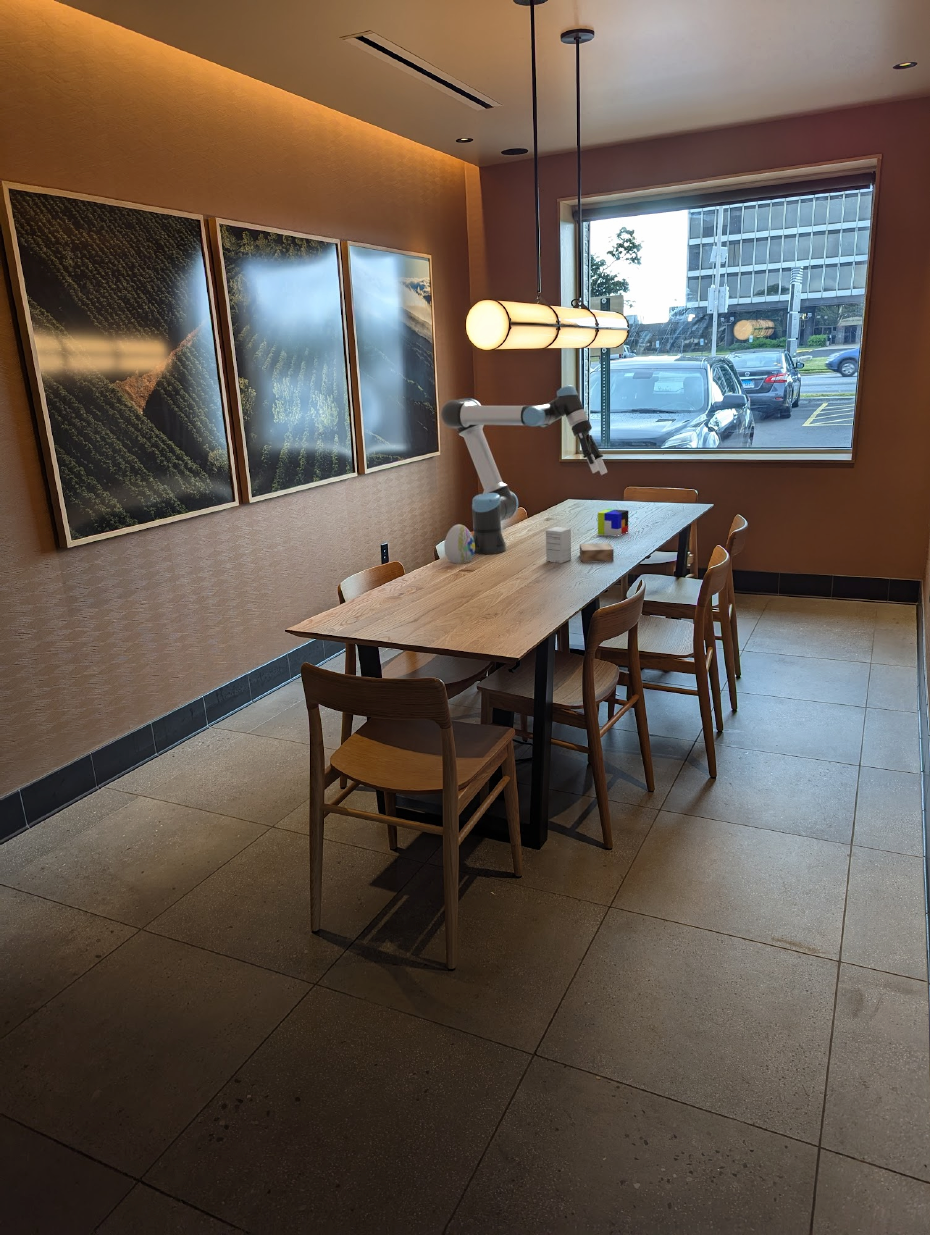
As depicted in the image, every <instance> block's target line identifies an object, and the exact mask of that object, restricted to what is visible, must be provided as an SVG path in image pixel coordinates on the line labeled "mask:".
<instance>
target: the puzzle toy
mask: <svg viewBox="0 0 930 1235" xmlns="http://www.w3.org/2000/svg"><path fill="white" fill-rule="evenodd" d="M626 532H628V533H629V510H625V509H611V508H607V509H605V510H602V511H598V512H597V535H598V534H603V535H602V536H607V535H616V536H615V537H619V536H618V535H620V536H622V535H621V534H623V533H625V534H627V533H626ZM623 535H624V534H623Z"/></svg>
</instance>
